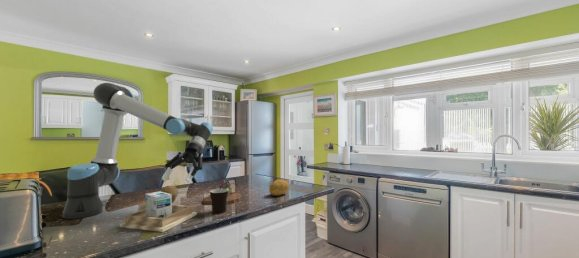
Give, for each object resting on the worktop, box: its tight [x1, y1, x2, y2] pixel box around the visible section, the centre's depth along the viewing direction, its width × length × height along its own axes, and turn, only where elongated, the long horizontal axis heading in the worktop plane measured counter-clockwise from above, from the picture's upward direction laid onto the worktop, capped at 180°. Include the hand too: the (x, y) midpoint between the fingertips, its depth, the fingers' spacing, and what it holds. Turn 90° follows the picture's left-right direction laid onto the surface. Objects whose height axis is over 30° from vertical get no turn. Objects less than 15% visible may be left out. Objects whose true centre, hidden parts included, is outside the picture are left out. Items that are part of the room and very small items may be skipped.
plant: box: [203, 179, 242, 206], centre depth 144 cm, size 20×20×11 cm
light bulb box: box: [145, 190, 173, 218], centre depth 110 cm, size 11×7×11 cm, turn 52°
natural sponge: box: [160, 184, 179, 204], centre depth 137 cm, size 9×9×10 cm
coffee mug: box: [209, 188, 229, 214], centre depth 124 cm, size 12×9×10 cm
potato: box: [268, 178, 289, 197], centre depth 154 cm, size 10×13×9 cm
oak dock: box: [119, 204, 198, 233], centre depth 111 cm, size 21×21×4 cm
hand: (175, 180), depth 119 cm, fingers open, 13 cm apart
